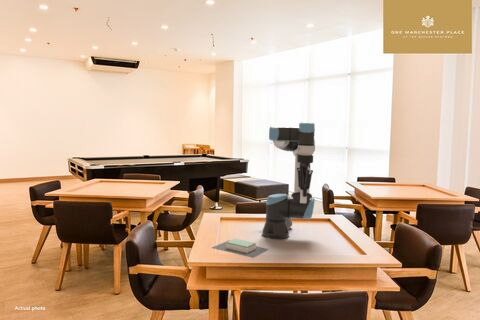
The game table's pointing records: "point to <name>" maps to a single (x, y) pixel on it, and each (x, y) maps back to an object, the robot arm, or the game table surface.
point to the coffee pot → (288, 220)
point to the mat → (249, 254)
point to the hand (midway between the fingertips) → (303, 202)
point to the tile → (241, 245)
